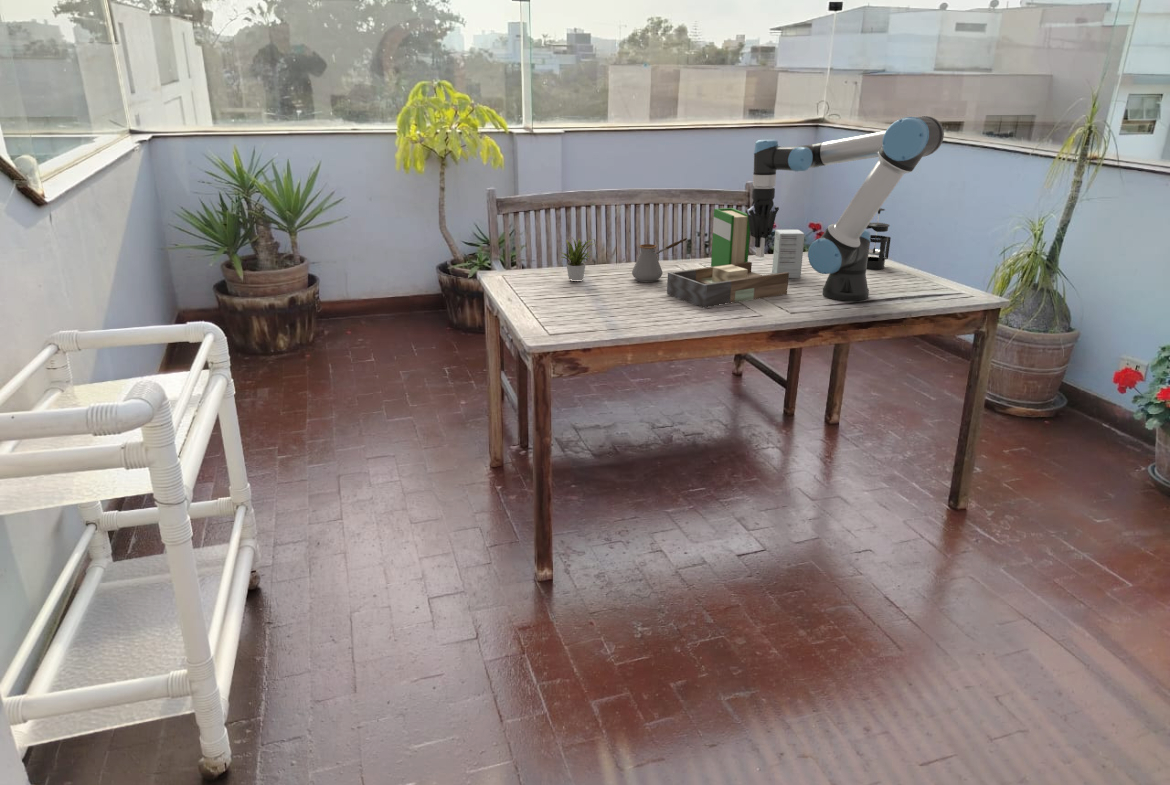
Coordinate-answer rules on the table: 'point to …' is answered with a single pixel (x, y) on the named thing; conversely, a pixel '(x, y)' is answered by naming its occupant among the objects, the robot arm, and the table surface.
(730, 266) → the birch block
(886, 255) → the french press
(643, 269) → the coffee pot
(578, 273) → the house plant
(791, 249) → the supplement box
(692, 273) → the tray
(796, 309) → the table surface
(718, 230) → the hardback book
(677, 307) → the table surface
